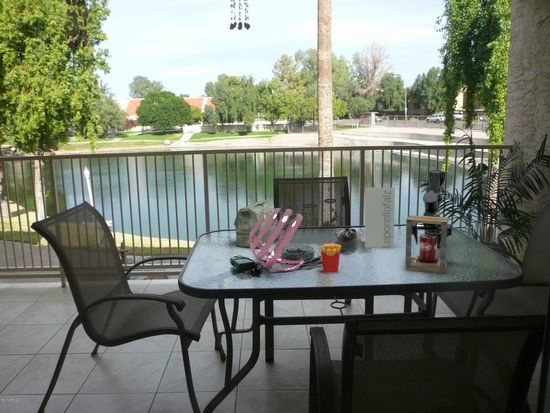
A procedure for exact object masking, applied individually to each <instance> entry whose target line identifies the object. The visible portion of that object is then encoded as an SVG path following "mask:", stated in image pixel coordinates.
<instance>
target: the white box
mask: <svg viewBox="0 0 550 413" xmlns="http://www.w3.org/2000/svg"><path fill="white" fill-rule="evenodd" d="M395 189H396V188H395V187H365V190H364V192H365V194H364V195H365V196H364V197H365V198H364V199H365V200H364V203H365V204H364V248H370V249H373V248H374V249H394V248H395V246H394V245H395V244H394V243H395V207H396V206H395V199H396V198H395V196H396V193H395V192H396V190H395Z"/></svg>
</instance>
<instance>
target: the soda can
mask: <svg viewBox="0 0 550 413" xmlns="http://www.w3.org/2000/svg"><path fill="white" fill-rule="evenodd" d="M418 249H419V251H418V253H419V254H418V256H419V261H420V262H421V263H429V264H435V263H436V258H438V257H437V255H438V254H437V251H438V248H437V237H436V236H435V235H431V234H425V233H423V234H421V235H420V236H419V248H418Z"/></svg>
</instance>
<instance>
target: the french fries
mask: <svg viewBox="0 0 550 413" xmlns="http://www.w3.org/2000/svg"><path fill="white" fill-rule="evenodd" d="M320 247H321V251H320V256H321V263H322V271H323V273H326V272H331V273H332V274H333V273H335V272H336V273H338V272H339V268H340V266H339V263H340V257H341V256H340V254H341V248H342V246H341V244H337V243H329V244H328V243H324V244H323V245H320ZM331 273H330V274H331Z"/></svg>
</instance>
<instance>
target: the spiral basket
mask: <svg viewBox="0 0 550 413" xmlns="http://www.w3.org/2000/svg"><path fill="white" fill-rule="evenodd" d="M280 211H281V208H279V207H276V208H275V210H274V211H273V213H272V214H271V216H270V217H269V219H268V221H267V222H266V224H265V225H264V227H263V228H262V230H261V231H260V233H259V234H258V236H257V237H256V236H255V233H256V231H257V230H258V228H259V226H260V225H261V223H262V222H263V220H264V219H265V217H266V216H267V214H268V212H269V211H267V212H265V213H264V214H263V215H262V217H261V218H260V220H259V221H258V223H257V224H256V226H255V228H254V227H253V228H252V229H251V231H250V236H249V239H250V247H249V248H250V251H251V253H252V254H253V256H254V258H255V260H256V262H258V263H260V265H262V266H263V267H264V268H266V269H267V270H271V271H275V272H291V271H293V270H295V269H297V268H299V267H300V266H302V265H303V264H304V262H305V259H303V258H302V259H298V260H288V259H284V258H282V257H281V255H282V254H283V252H284V251H285V249H286V247H287V246H288V245H289V243H290V241H291V240H292V238H293V236H294V235H295V233H296V232H297V230H298V228H299V227H300V224H301V223H302V221H303V219H304V218H303V215H302V214H300V213H297V214H296V215H295V217H294V218H293V219H292V221H291V222H290V224H289V225H288V226H287V228H286V229H285V230H284V233H282V235H281V237H280V238H279V240H278V242H277V243H276V245H275V246H274V248H273V250H272V251H269V250H270V248H271V247H272V245H273V244H274V243H275V241H276V240H277V239H278V238H277V236H278V235H279V236H280V233H281V232H282V230H283V229H284V227H285V225H286V223H288V222H287V221H288V220H290V217H291V215H292V213H293V209H291V208H286V210H285V211H284V212H283V214H282V215H281V216H280V218H279V220H278V223H277V224H276V226H275V227H274V229H273V230H272V232H271V233H270V235H269V237H268V238H267V240H266V241H265V243H264V244H263V245H261V244H260V241H261V239H262V237H263V236H264V234H265V233H266V231H267V230H268V228H269V227H270V225H271V224H272V222H273V220H274V219H275V217H276V216H277V217H278V215H279V212H280ZM252 237H253V239H254V242H253V244H252ZM276 238H277V239H276ZM256 247H258V248H256ZM255 249H258V250H259V251H258V253H256V251H255ZM265 256H267V257H266V258H267V260H266V261H265V262H264V261H263V258H264V257H265ZM276 262H277V263H282V264H286V263H288V264H289V265H291V264H292V265H293V264H297V265H295V266H292V267H290V268H281V269H280V268H276V267H274V265H275V264H276Z"/></svg>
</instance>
